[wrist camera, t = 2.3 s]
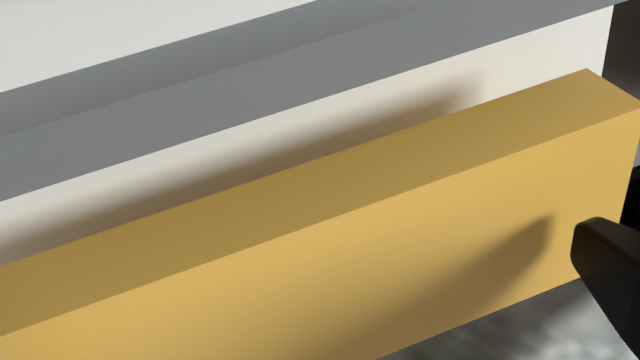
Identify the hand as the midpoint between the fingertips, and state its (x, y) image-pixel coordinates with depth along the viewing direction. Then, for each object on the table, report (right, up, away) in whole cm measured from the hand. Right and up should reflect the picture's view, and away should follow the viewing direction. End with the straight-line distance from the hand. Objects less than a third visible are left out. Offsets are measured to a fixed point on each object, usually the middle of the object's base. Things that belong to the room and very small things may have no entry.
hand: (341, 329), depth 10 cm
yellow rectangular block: (-1, +1, +1) cm, 2 cm away
